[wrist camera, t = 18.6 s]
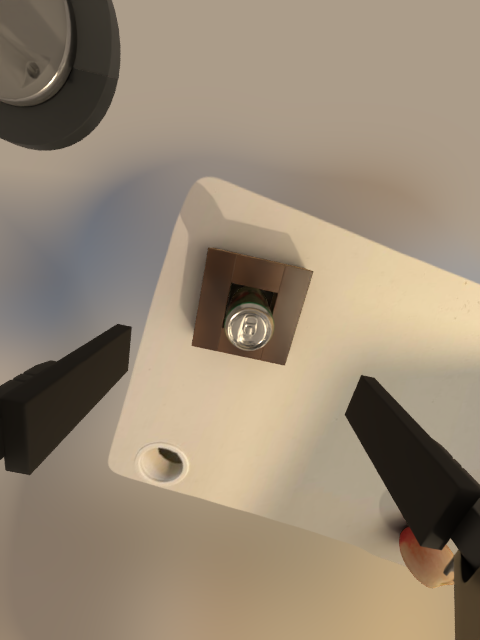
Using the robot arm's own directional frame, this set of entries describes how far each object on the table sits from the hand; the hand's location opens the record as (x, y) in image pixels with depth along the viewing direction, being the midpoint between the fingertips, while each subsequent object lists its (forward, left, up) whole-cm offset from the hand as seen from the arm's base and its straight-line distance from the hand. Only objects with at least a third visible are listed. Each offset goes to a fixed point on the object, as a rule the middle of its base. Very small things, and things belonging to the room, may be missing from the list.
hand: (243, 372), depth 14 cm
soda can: (+1, -1, -22) cm, 22 cm away
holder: (+1, -1, -22) cm, 22 cm away
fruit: (+42, -38, -22) cm, 60 cm away
